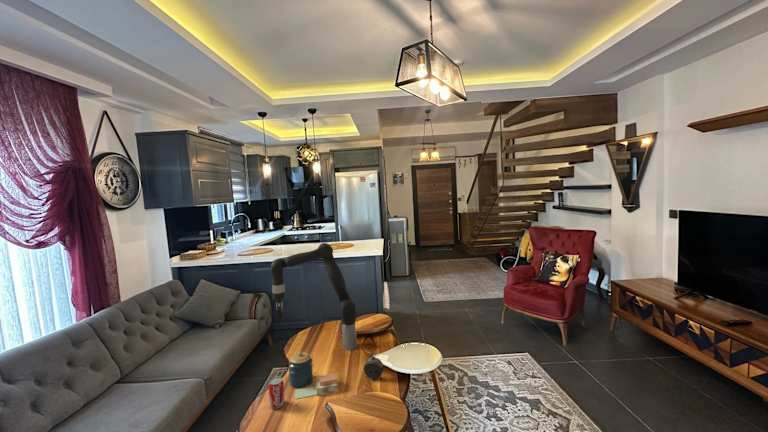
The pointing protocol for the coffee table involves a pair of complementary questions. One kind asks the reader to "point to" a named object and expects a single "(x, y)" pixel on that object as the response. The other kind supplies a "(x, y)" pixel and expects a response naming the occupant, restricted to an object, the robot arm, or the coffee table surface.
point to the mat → (305, 392)
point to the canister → (300, 370)
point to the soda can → (276, 392)
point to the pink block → (328, 379)
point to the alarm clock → (373, 367)
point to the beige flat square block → (325, 388)
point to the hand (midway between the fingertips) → (280, 315)
